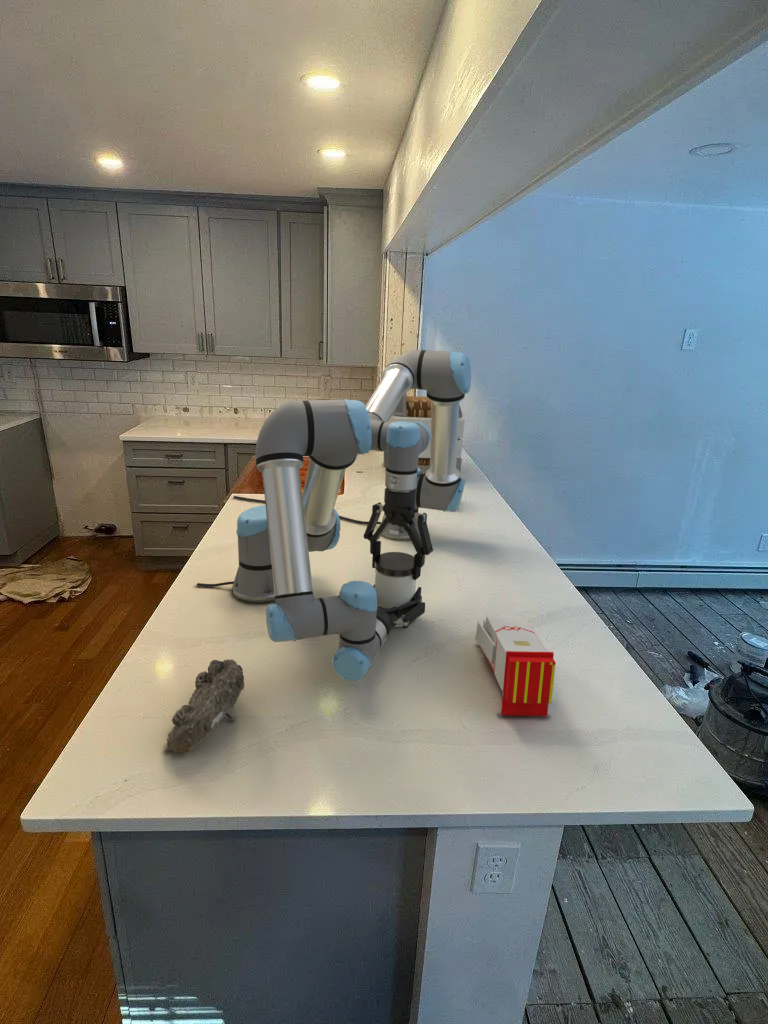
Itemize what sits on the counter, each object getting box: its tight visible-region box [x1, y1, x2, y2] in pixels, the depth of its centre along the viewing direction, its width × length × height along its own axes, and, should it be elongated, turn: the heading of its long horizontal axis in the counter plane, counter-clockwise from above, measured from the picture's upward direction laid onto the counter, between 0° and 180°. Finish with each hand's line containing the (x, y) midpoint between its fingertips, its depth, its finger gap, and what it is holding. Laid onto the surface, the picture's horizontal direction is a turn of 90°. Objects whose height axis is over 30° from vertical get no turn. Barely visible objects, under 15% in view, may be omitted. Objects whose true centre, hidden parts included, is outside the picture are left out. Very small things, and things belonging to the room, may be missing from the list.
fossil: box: [166, 658, 245, 754], centre depth 106 cm, size 22×10×15 cm
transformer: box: [383, 392, 465, 475], centre depth 268 cm, size 34×33×41 cm
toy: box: [475, 615, 557, 717], centre depth 123 cm, size 12×13×30 cm
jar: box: [374, 569, 417, 628], centre depth 144 cm, size 10×10×15 cm
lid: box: [374, 551, 414, 576], centre depth 141 cm, size 11×11×2 cm
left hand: (399, 587), depth 148 cm, fingers closed on jar, 10 cm apart
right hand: (395, 571), depth 142 cm, fingers closed on lid, 11 cm apart
